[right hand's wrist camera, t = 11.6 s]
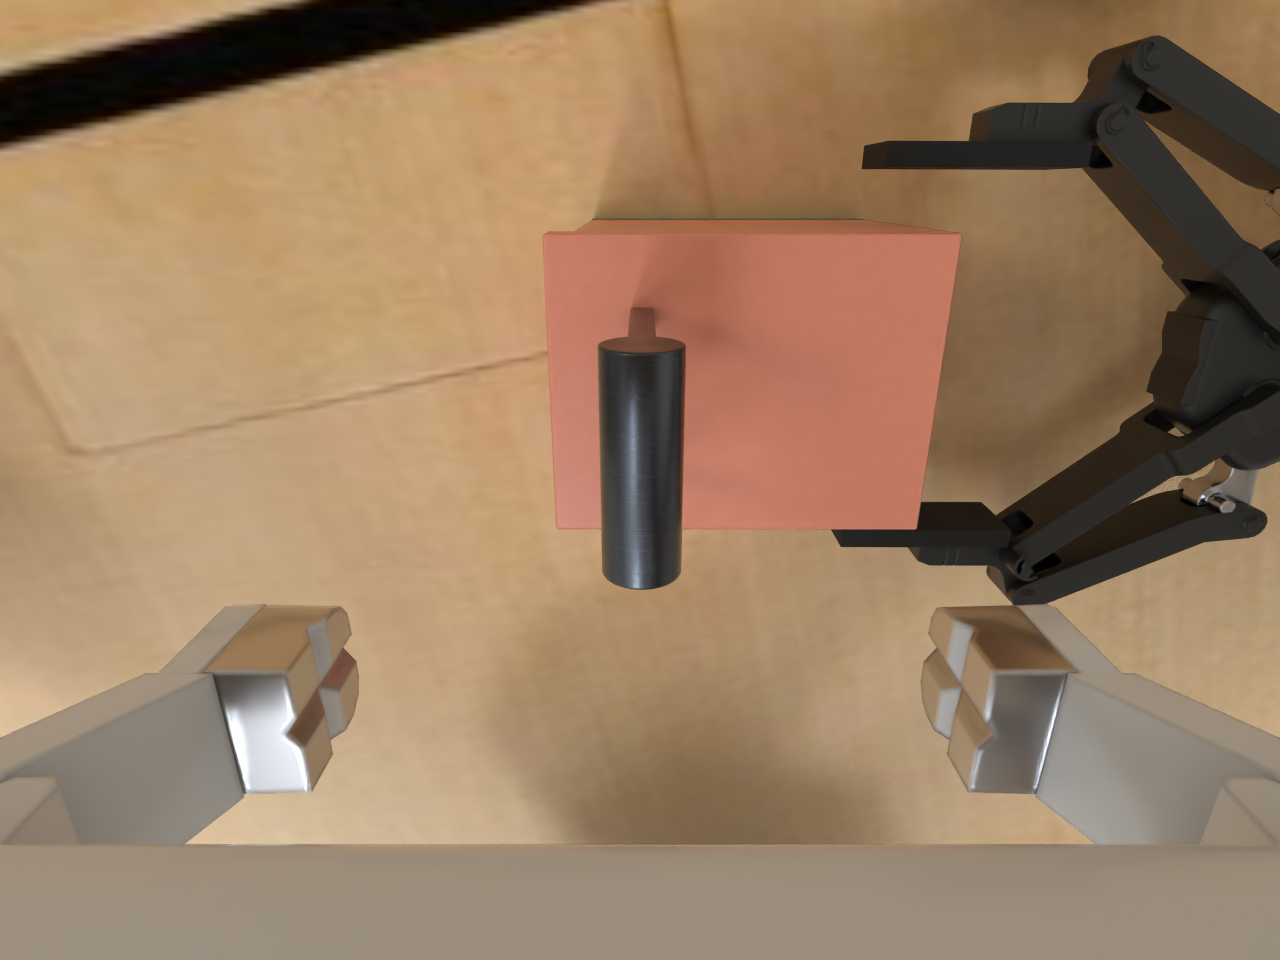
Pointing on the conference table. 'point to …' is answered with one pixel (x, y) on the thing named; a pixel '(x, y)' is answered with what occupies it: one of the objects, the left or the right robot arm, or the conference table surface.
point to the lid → (740, 382)
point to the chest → (743, 225)
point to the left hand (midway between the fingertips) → (850, 356)
